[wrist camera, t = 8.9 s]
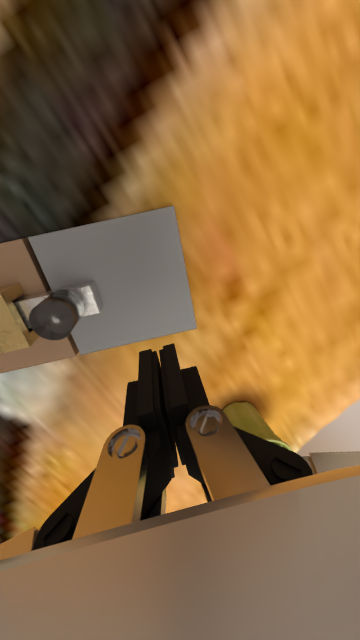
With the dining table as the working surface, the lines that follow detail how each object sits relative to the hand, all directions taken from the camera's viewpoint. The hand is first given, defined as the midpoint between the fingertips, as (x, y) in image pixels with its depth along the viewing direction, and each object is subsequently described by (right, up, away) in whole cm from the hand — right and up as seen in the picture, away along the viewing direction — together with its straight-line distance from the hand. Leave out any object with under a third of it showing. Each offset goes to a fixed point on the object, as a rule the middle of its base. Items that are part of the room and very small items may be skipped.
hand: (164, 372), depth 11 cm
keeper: (-18, +3, +15) cm, 23 cm away
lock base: (-13, +5, +16) cm, 21 cm away
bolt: (-14, +4, +15) cm, 21 cm away
